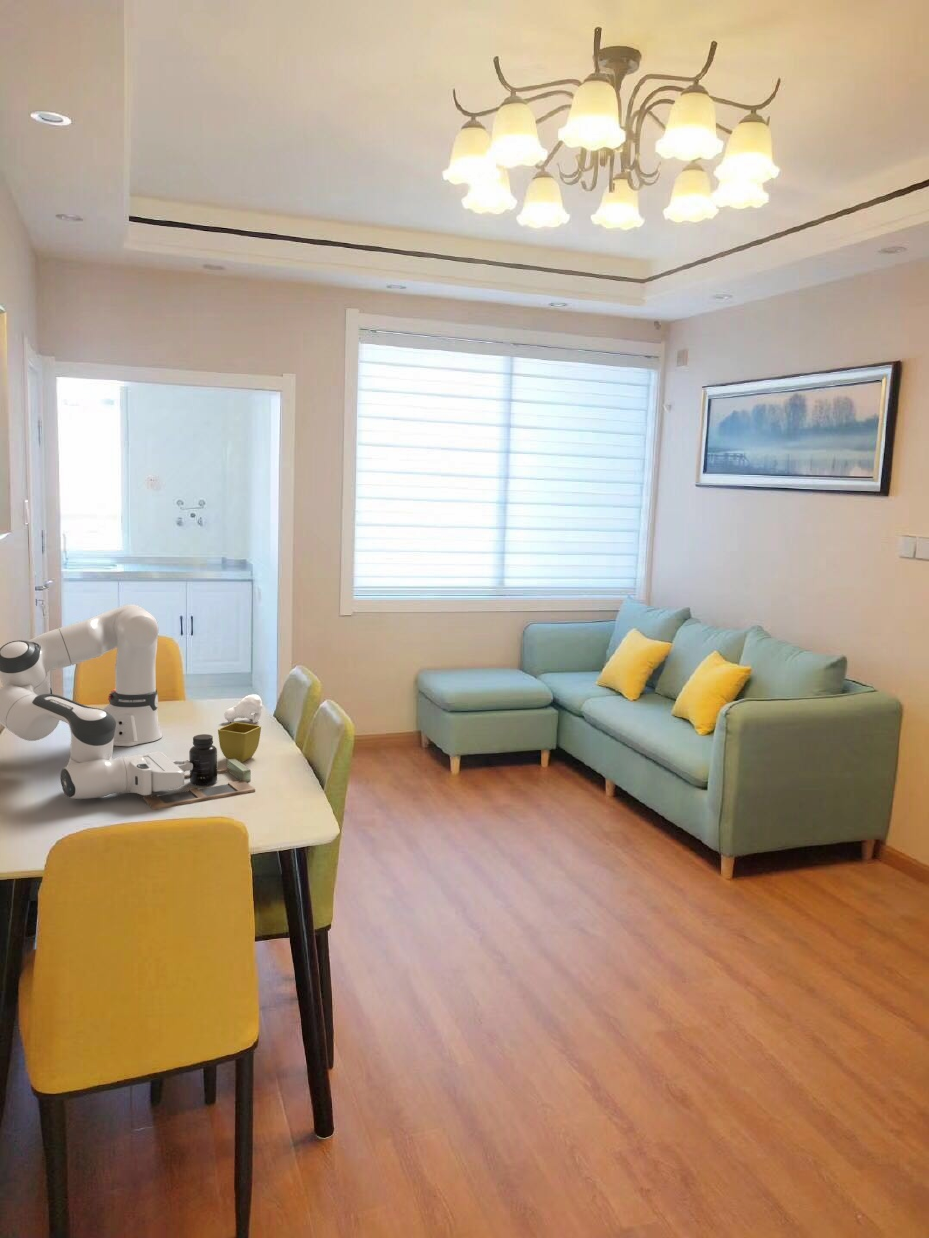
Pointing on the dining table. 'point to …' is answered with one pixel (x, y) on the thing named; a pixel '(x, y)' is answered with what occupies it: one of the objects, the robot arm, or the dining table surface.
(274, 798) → the dining table surface
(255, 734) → the flower pot
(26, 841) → the dining table surface
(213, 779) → the supplement bottle
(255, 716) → the white lumpy piece
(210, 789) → the board
